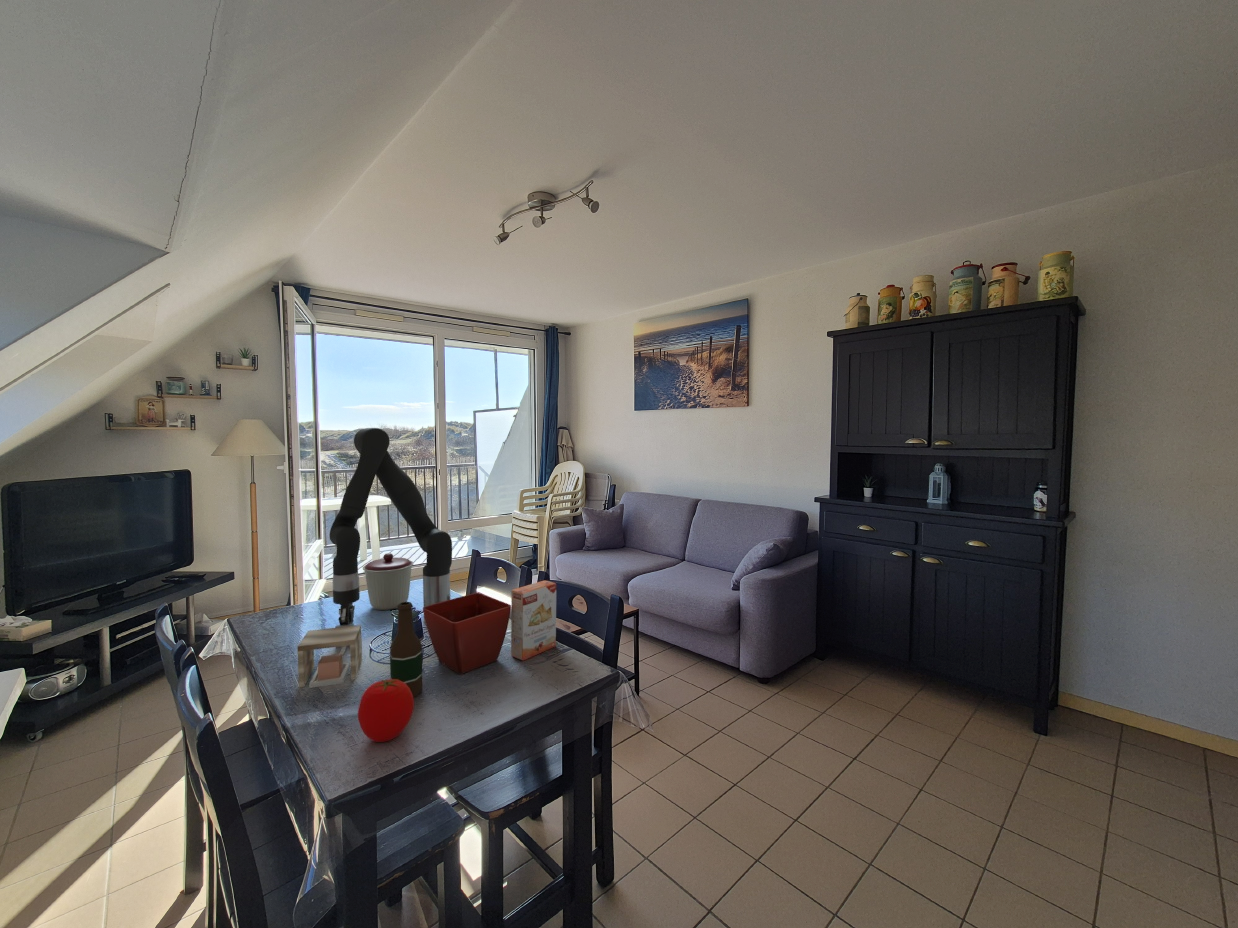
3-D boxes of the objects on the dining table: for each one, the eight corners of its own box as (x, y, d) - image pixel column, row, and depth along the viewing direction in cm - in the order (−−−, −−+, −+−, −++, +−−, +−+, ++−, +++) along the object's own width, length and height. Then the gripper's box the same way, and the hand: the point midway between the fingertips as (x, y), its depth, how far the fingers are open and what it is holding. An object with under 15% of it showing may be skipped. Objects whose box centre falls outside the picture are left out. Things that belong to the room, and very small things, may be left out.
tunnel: (309, 673, 141) (308, 630, 140) (362, 666, 145) (361, 624, 144) (299, 692, 130) (297, 646, 130) (356, 683, 135) (354, 639, 134)
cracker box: (523, 662, 148) (523, 593, 147) (510, 656, 152) (509, 589, 151) (557, 646, 159) (557, 582, 158) (544, 641, 163) (544, 578, 162)
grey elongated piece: (331, 649, 155) (330, 626, 155) (359, 646, 158) (359, 622, 157) (309, 691, 130) (308, 663, 129) (343, 686, 133) (343, 658, 132)
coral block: (342, 670, 139) (342, 653, 139) (339, 679, 134) (338, 661, 134) (322, 673, 137) (321, 656, 137) (318, 682, 133) (317, 663, 132)
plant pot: (422, 661, 148) (421, 606, 147) (478, 642, 162) (478, 591, 161) (454, 683, 135) (453, 623, 134) (513, 660, 149) (512, 605, 148)
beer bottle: (402, 703, 125) (400, 610, 124) (384, 695, 129) (382, 604, 128) (429, 690, 132) (427, 601, 130) (410, 682, 136) (408, 596, 134)
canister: (417, 608, 193) (416, 555, 192) (365, 617, 184) (363, 561, 183) (410, 595, 209) (409, 546, 207) (362, 602, 200) (361, 551, 198)
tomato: (347, 745, 108) (345, 688, 108) (386, 718, 118) (385, 666, 118) (386, 757, 104) (385, 698, 104) (423, 728, 114) (422, 674, 114)
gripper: (355, 591, 154) (357, 645, 156) (362, 579, 167) (363, 630, 168) (328, 593, 152) (329, 649, 153) (337, 581, 165) (338, 632, 166)
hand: (347, 639), depth 161 cm, fingers closed
